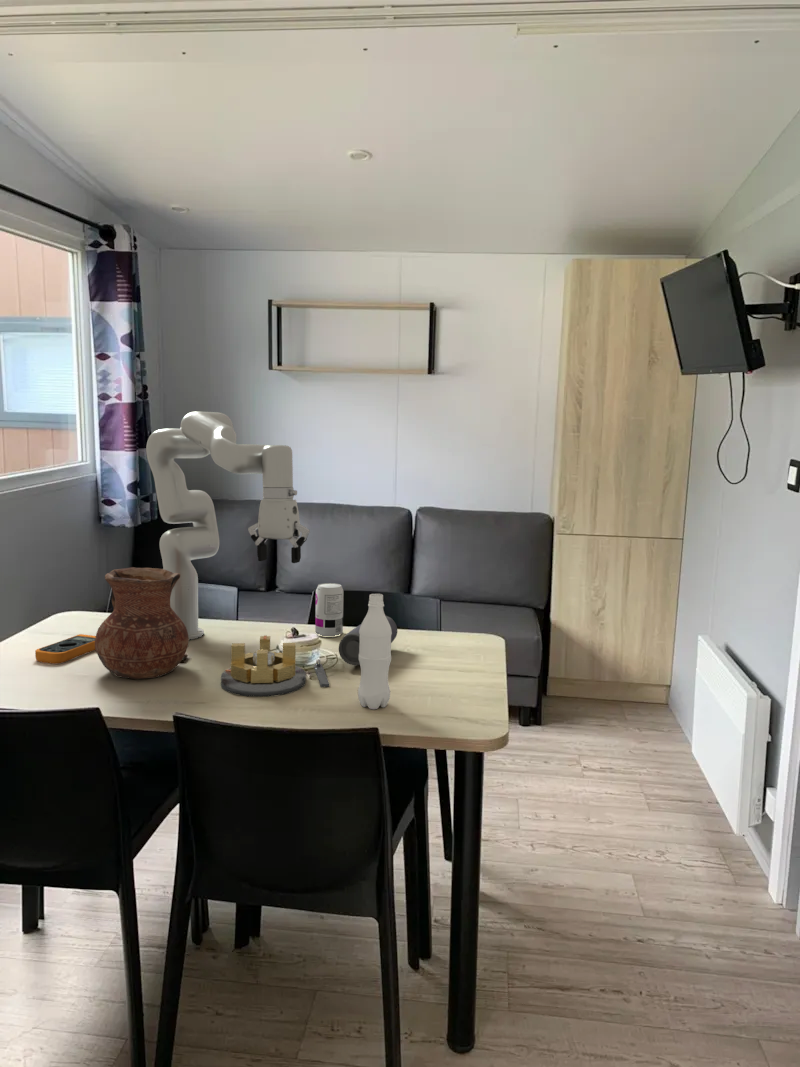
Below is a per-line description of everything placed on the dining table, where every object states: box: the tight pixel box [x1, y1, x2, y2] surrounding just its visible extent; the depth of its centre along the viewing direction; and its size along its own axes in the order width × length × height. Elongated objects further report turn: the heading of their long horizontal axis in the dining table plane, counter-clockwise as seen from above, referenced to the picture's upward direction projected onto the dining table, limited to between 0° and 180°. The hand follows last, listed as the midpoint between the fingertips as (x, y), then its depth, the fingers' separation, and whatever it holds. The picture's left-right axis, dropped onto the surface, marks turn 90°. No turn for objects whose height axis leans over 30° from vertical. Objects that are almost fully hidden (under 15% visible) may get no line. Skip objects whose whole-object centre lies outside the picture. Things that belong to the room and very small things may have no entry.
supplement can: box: [314, 582, 344, 636], centre depth 227 cm, size 8×8×15 cm
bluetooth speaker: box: [338, 615, 398, 666], centre depth 204 cm, size 23×9×10 cm, turn 161°
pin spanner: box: [313, 659, 330, 688], centre depth 188 cm, size 16×2×3 cm, turn 12°
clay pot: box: [95, 566, 190, 680], centre depth 187 cm, size 22×21×25 cm
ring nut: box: [230, 635, 297, 683], centre depth 181 cm, size 15×15×7 cm
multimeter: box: [34, 633, 96, 665], centre depth 201 cm, size 9×18×3 cm, turn 164°
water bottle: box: [357, 593, 392, 710], centre depth 167 cm, size 7×7×25 cm
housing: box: [220, 651, 307, 698], centre depth 182 cm, size 20×20×7 cm
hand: (279, 561), depth 193 cm, fingers open, 9 cm apart
